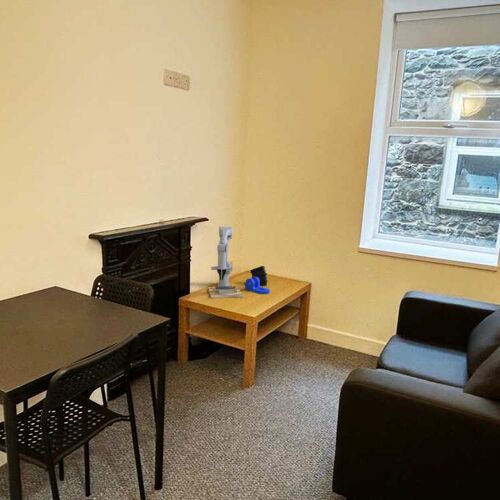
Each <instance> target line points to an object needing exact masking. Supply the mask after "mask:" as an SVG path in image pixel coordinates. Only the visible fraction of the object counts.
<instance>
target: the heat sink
mask: <svg viewBox="0 0 500 500" xmlns="http://www.w3.org/2000/svg"><path fill="white" fill-rule="evenodd" d="M217 287H233V285H229V286H218V285H217ZM217 290H218V293H219V294H233V289H217Z"/></svg>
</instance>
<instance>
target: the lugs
mask: <svg viewBox="0 0 500 500" xmlns="http://www.w3.org/2000/svg"><path fill="white" fill-rule="evenodd" d="M234 286H236V287H237V285H232V287H234ZM215 287H216V286H212V288H213V293H215ZM233 291H234V293H237V288H235V289H233Z"/></svg>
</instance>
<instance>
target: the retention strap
mask: <svg viewBox="0 0 500 500" xmlns="http://www.w3.org/2000/svg"><path fill="white" fill-rule="evenodd" d="M233 286H234V285H233ZM233 286H232V287H218V286H214V287H215V289H216V290H217V289H235V288H236V287H237V285H236V286H234V287H233Z"/></svg>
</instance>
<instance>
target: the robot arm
mask: <svg viewBox="0 0 500 500" xmlns="http://www.w3.org/2000/svg"><path fill="white" fill-rule="evenodd" d="M233 230H234V229H233V227H232V226H219V228H218V236H219V238H220V239H219V242H218V244H217V248H216V249H217V265H216V266H210V268H211V269H210V270H211V271H216V273H217V274H218V282H217V287H218V286H230V284H229V279H230V278H229V275H230V274H231V272H232V270H233V266H232V265H231V263H230V262H229V261H228V259H229V258H228V257H229V242H230V240H231V239H232V238H233V233H234V232H233Z"/></svg>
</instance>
